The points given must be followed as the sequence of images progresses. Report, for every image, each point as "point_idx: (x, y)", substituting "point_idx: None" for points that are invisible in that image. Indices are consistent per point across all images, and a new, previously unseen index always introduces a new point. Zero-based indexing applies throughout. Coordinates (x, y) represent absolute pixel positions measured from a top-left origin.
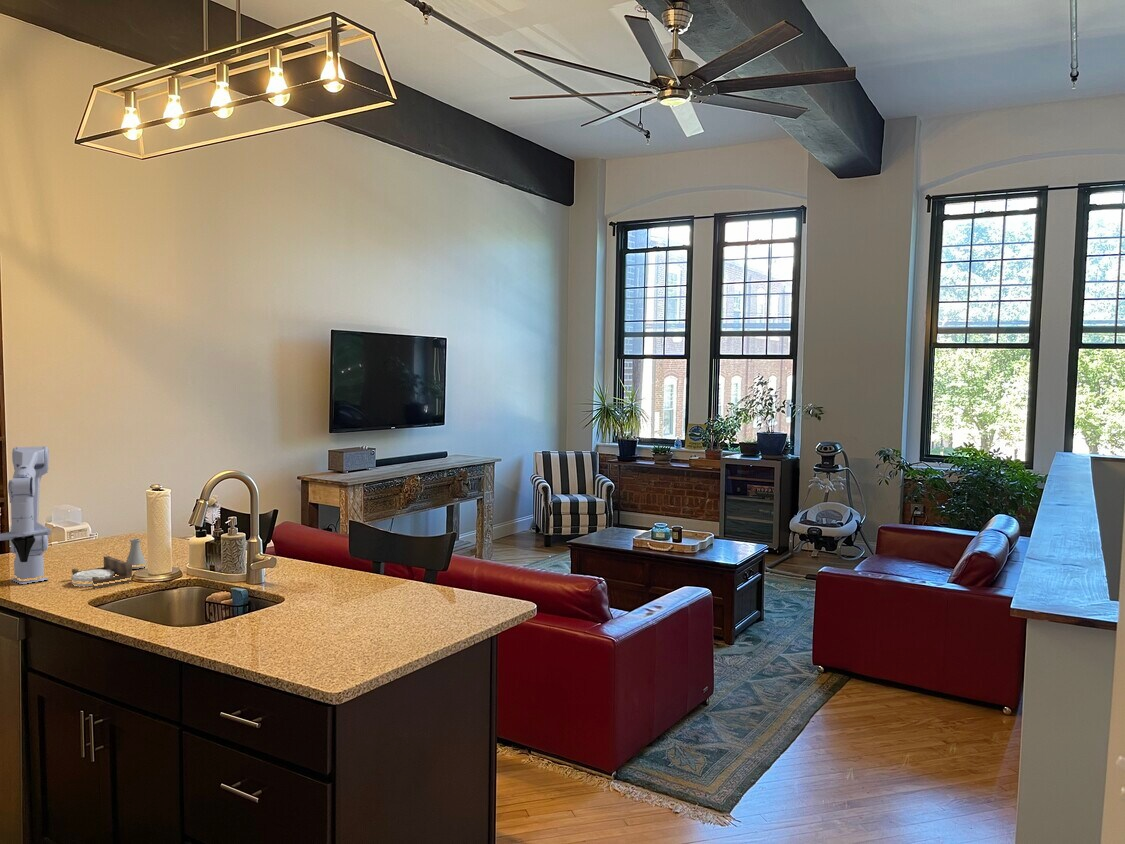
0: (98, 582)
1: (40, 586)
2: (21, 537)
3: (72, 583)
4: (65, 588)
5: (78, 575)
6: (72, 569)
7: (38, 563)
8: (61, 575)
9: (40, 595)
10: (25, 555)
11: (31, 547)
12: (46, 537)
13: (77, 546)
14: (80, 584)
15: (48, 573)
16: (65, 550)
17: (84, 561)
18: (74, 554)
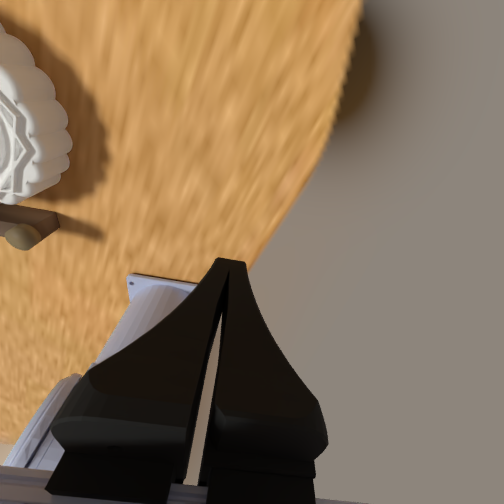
0: None
1: (171, 230)
2: (222, 501)
3: (64, 139)
4: (106, 110)
5: (9, 142)
6: (28, 244)
7: (129, 330)
8: (84, 299)
9: (233, 71)
10: (223, 284)
11: (160, 321)
12: (14, 447)
13: None
14: (29, 67)
15: (109, 335)
16: None
17: (17, 364)
18: (36, 406)
